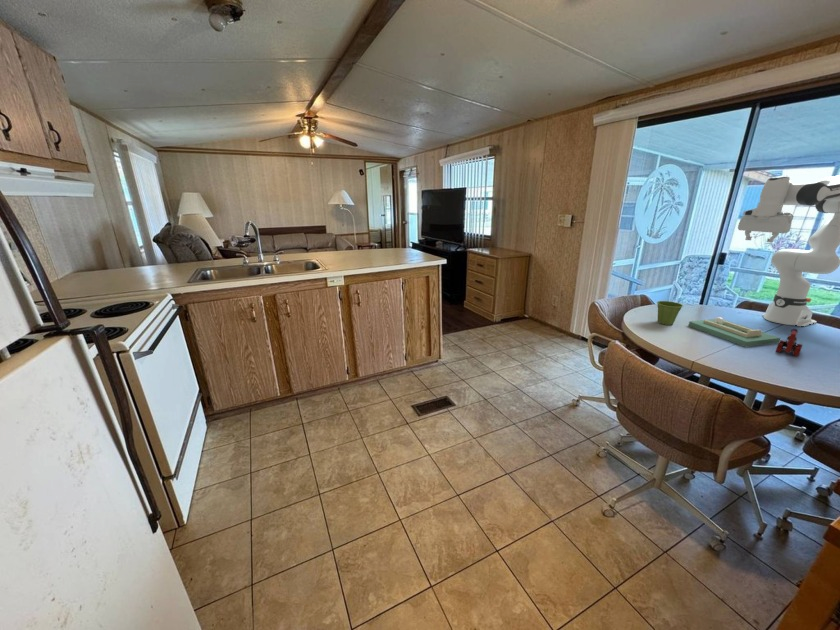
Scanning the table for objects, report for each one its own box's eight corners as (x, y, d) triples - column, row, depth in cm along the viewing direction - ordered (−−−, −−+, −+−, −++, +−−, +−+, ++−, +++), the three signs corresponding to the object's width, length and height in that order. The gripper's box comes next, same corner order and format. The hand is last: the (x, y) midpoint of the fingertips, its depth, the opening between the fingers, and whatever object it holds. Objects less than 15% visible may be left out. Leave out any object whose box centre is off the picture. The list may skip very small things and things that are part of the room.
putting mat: (688, 325, 180) (690, 316, 179) (718, 322, 184) (721, 313, 182) (744, 346, 154) (748, 335, 153) (778, 342, 158) (782, 332, 156)
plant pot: (683, 326, 180) (689, 306, 176) (661, 327, 180) (666, 307, 176) (668, 319, 191) (672, 300, 187) (647, 319, 191) (651, 300, 187)
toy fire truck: (800, 350, 150) (808, 329, 146) (797, 358, 142) (806, 336, 139) (778, 345, 155) (786, 325, 152) (774, 353, 148) (782, 331, 144)
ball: (717, 322, 177) (719, 315, 176) (724, 325, 173) (727, 318, 172) (710, 323, 176) (712, 316, 175) (718, 326, 173) (720, 318, 171)
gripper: (799, 212, 152) (789, 243, 156) (749, 211, 171) (741, 238, 175) (789, 212, 151) (778, 243, 155) (740, 211, 170) (731, 239, 174)
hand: (758, 241), depth 165 cm, fingers open, 8 cm apart
